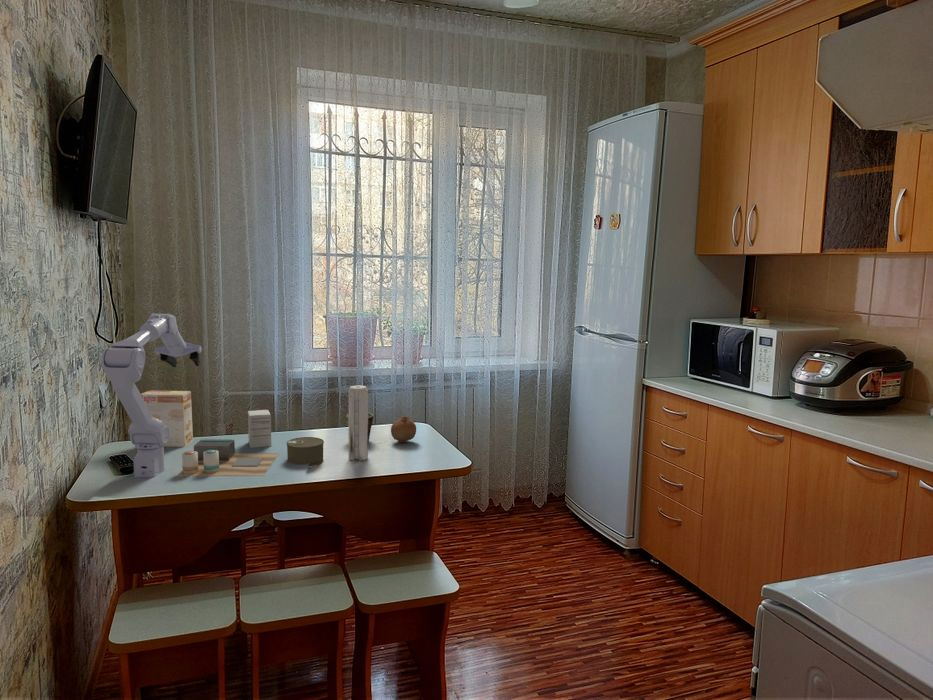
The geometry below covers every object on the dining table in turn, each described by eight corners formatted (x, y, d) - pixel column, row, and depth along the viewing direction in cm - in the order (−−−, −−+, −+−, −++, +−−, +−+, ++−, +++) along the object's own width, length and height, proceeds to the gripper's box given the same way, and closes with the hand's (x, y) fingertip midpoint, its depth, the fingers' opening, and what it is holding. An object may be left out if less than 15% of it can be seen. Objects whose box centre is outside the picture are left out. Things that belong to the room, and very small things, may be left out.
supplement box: (248, 444, 231) (247, 410, 230) (269, 443, 234) (268, 409, 232) (249, 450, 225) (249, 415, 223) (271, 448, 227) (271, 413, 226)
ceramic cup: (346, 438, 243) (346, 412, 241) (372, 437, 244) (373, 411, 243) (346, 448, 230) (346, 421, 229) (374, 447, 232) (374, 420, 230)
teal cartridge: (216, 473, 198) (216, 453, 197) (201, 473, 198) (201, 453, 197) (221, 468, 202) (220, 449, 202) (206, 468, 202) (205, 449, 201)
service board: (263, 478, 197) (263, 475, 196) (175, 479, 194) (175, 476, 194) (279, 455, 219) (279, 453, 219) (200, 456, 217) (200, 453, 217)
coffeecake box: (193, 443, 231) (191, 390, 228) (184, 449, 224) (182, 394, 221) (152, 442, 231) (150, 389, 229) (142, 448, 224) (139, 393, 222)
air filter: (371, 457, 220) (371, 386, 216) (359, 462, 214) (359, 389, 211) (357, 454, 223) (357, 383, 219) (344, 459, 217) (344, 386, 214)
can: (320, 467, 208) (320, 447, 208) (283, 467, 208) (282, 447, 207) (326, 456, 220) (326, 437, 219) (291, 456, 220) (291, 436, 219)
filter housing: (228, 460, 210) (228, 445, 209) (194, 460, 209) (193, 445, 208) (235, 453, 217) (234, 438, 217) (201, 453, 216) (201, 438, 216)
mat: (257, 466, 205) (257, 465, 205) (231, 466, 204) (231, 465, 204) (263, 458, 213) (263, 457, 213) (238, 458, 212) (238, 457, 212)
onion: (418, 445, 235) (418, 418, 234) (392, 446, 233) (393, 420, 231) (413, 438, 244) (413, 412, 243) (388, 439, 242) (389, 413, 240)
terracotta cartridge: (195, 474, 196) (194, 454, 196) (180, 474, 196) (179, 454, 195) (200, 469, 201) (199, 450, 200) (185, 469, 201) (184, 450, 200)
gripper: (197, 329, 213) (210, 354, 224) (153, 331, 213) (167, 356, 224) (193, 346, 209) (206, 370, 220) (148, 348, 208) (163, 372, 219)
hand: (186, 364), depth 222 cm, fingers open, 7 cm apart
